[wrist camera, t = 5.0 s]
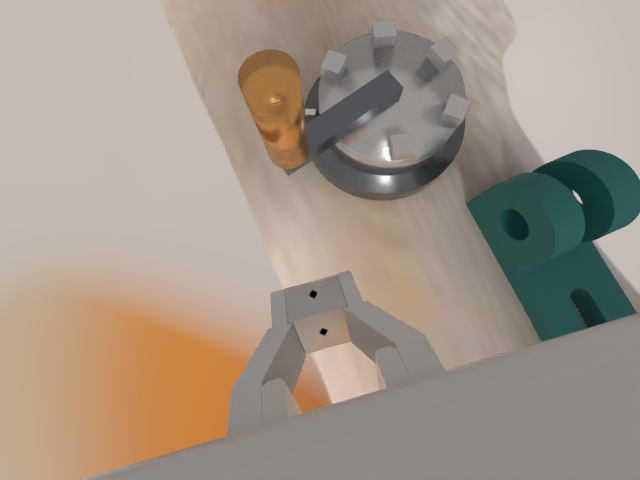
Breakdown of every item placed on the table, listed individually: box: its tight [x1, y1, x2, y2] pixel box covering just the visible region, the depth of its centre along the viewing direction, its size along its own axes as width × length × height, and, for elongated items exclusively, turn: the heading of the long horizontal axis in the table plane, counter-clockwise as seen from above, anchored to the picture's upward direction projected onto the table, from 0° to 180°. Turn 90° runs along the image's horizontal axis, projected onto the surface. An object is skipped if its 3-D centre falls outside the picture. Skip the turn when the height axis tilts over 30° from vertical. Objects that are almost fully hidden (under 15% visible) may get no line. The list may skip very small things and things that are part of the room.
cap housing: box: [304, 76, 465, 200], centre depth 27 cm, size 15×15×2 cm
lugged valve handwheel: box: [238, 19, 471, 176], centre depth 20 cm, size 18×12×12 cm
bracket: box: [466, 150, 640, 342], centre depth 21 cm, size 18×7×8 cm, turn 23°
